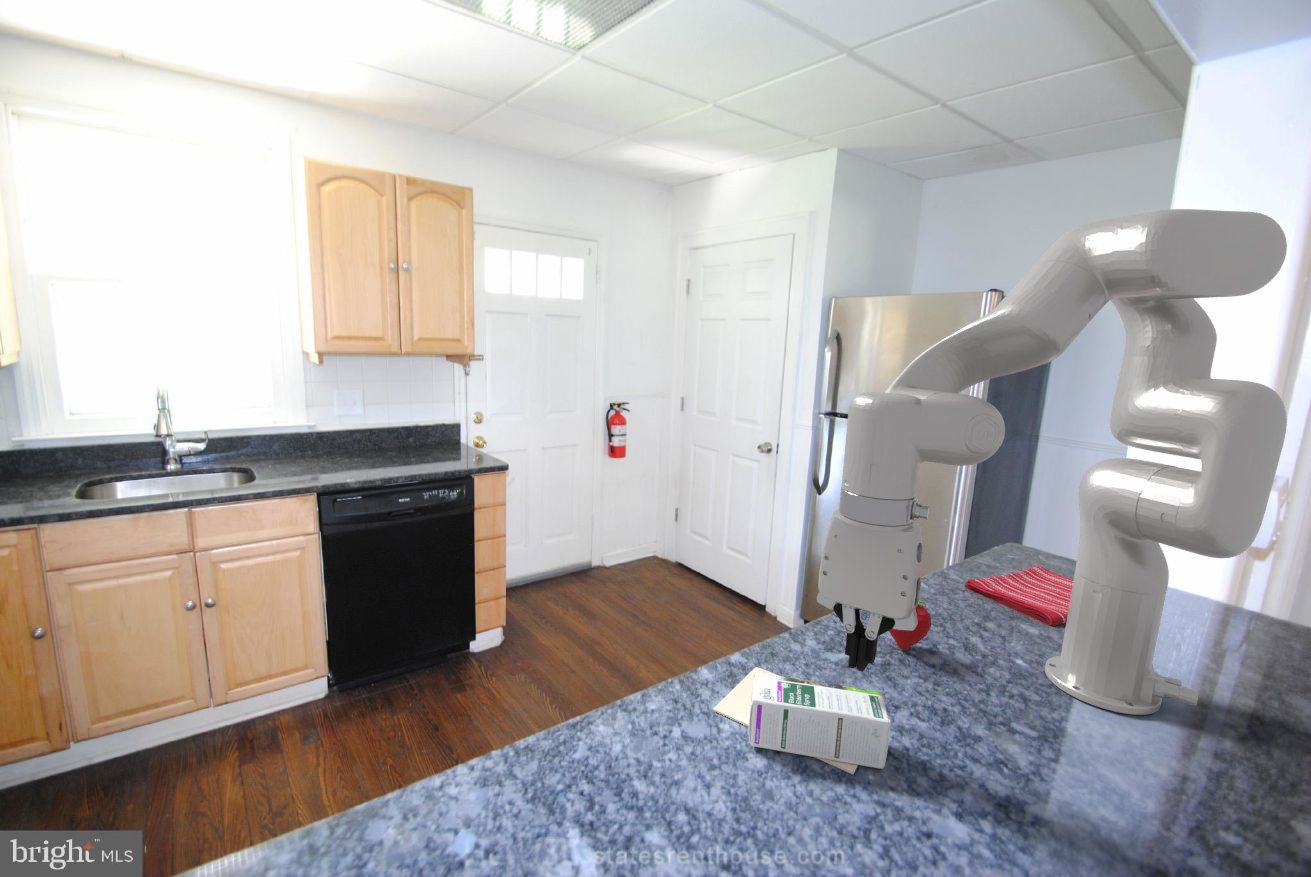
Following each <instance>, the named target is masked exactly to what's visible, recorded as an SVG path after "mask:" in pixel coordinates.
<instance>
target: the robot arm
mask: <svg viewBox="0 0 1311 877" xmlns="http://www.w3.org/2000/svg"><path fill="white" fill-rule="evenodd" d="M1287 243H1288V242H1287V237H1286V235H1285V232H1284V230H1283V228H1282V227H1281V225H1280V224H1279V223H1278V222H1277V221H1276V220H1275V219H1273V218H1272V217H1271V216H1269V215H1267V214H1264V213H1260V212H1256V211H1255V212H1254V211H1237V210H1235V211H1233V210H1218V209H1217V210H1215V209H1195V208H1194V209H1193V208H1185V209H1184V208H1175V209H1174V208H1173V209H1160V210H1155V211H1149V212H1144V213H1139V214H1138V213H1137V214H1131V215H1127V216H1126V215H1125V216H1122V217H1114V218H1109V219H1103V220H1098V221H1093V222H1088V223H1085V224H1081V225H1079V226H1077V227H1074V228H1071V229H1070V230H1068V231H1066V232H1065V233H1063V234H1062V235H1061V236H1059V237H1058V238H1057V239H1056V240H1055V241H1054V242H1053V243H1052V244H1051V246H1050V247H1048V249H1047V250H1046V251H1045V252H1044V253H1043V254H1042V255H1041V256H1040V258H1038V260H1037V261H1036V262H1035V263H1034V264H1033V265H1032V266H1031V267H1030V269H1029V270H1028V271H1027V272H1026V273H1025V274H1024V276H1022V278H1021V279H1020V280H1019V281H1018V282H1017V283H1016V284H1015V286H1014V287H1012V289H1011V290H1009V292H1008V293H1007V294H1006V295H1005V296H1004V297H1003V298H1002V300H1001V301H1000V302H999V303H998V305H996V306H995V307H994V308H993V309H992V310H991V311H990V312H989V313H987V314H985V315H983V316H982V317H980V318H978V319H975V320H974V321H972V322H970V323H968V324H967V325H965V326H963V327H962V328H960V329H959V330H957V331H955V332H953V333H951V334H950V335H949V336H946V337H945V338H943V339H941V340H939V341H938V342H936V343H935V344H933V345H931V346H930V347H927V349H925V350H924V351H923V352H921V353H920V354H919V355H918V356H916V357H914V359H913V360H912V361H911V362H910V363H909V364H908V365H907V366H905V368H904V369H903V370H902V371H901V372H900V374H899V375H898V376H897V377H896V378H895V379H894V380H893V381H892V383H890V385H889V386H888V387H887V388H886V390H885V391H884V392H883V391H882V392H881V391H879V392H878V391H868V392H861V393H857V394H856V395H854V396H853V398H851V401H850V402H849V407H848V413H847V414H848V415H847V423H846V424H847V426H846V432H845V433H846V434H845V435H846V437H845V444H844V455H843V466H842V477H841V487H840V495H839V497H840V498H839V508H838V509H837V510H835V511H834V512H833V514H832V516H831V520H830V522H829V525H828V529H827V533H826V536H825V541H824V545H823V550H822V555H821V560H820V565H819V566H820V567H819V573H818V580H817V581H818V586H817V588H818V593H817V595H816V602H817V603H818V604H819V605H822V606H823V607H825V608H826V609H829V610H831V611H833V613H834V614H835V615H836V616H837V618H838V619H839V620H840V622H841V623H842V624H843V630H844V631H845V632H846V637H845V638H846V639H845V649H844V654H845V655H846V656H848V663H847V664H848V666H847V668H850V669H857V671H859V672H861V673H864V672H865V670H866V668H867V667H868V666H869V664H874V662H875V661H876V657H877V648H878V640H879V637H880V636H881V635H884V634H885V633H887V632H889V630H891V629H897V630H910V631H912V630H914V629H915V627H916V626H917V624H918V621H917V614H916V608H915V607H917V606H918V603H919V600H921V590H922V589H921V588H922V579H923V578H922V574H923V572H922V571H923V537H922V536H923V534H922V526H921V525H920V524H919V523H917V522H915V520H916V519H918V520H920V519H925V520H928V519H929V516H930V511H931V510H930V509H931V508H930V506H928V505H923V504H922V503H920V502H919V501H920V500H918V495H917V490H918V487H917V486H918V479H919V472H920V464H922V463H925V462H926V463H935V464H942V465H949V466H955V467H958V466H959V467H963V466H972V465H973V466H974V465H976V464H977V465H978V464H980V463H983V462H985V461H986V460H988V459H990V458H991V457H993V456H994V455H995V454H996V452H997V451H998V450H999V449H1000V447H1002V444H1003V441H1004V439H1005V434H1006V425H1005V421H1004V420H1005V419H1003V415H1002V414H1001V412H1000V411H999V410H998V409H997V407H995V406H994V405H993V404H992V403H990V402H988V401H987V400H985V399H983V398H980V397H978V396H973V395H968V394H964V393H961V392H963V391H965V390H966V389H969V388H970V387H973V386H975V385H977V384H980V383H983V382H985V381H988V380H992V379H995V378H998V377H999V378H1000V377H1004V376H1007V375H1008V376H1009V375H1012V374H1016V373H1020V372H1024V371H1027V370H1031V369H1033V368H1037V367H1039V366H1042V365H1045V364H1048V363H1049V362H1052V361H1055V360H1056V359H1058V358H1059V357H1060V356H1061V355H1063V354H1064V352H1065V351H1066V350H1067V349H1068V347H1070V345H1071V344H1072V343H1073V342H1074V340H1076V339H1077V337H1079V335H1080V334H1081V333H1082V331H1083V330H1084V329H1085V328H1086V327H1087V326H1088V325H1089V324H1090V323H1091V321H1092V320H1093V319H1094V318H1095V316H1097V314H1098V313H1099V312H1100V311H1101V310H1102V309H1103V308H1104V307H1105V306H1106V304H1107V303H1109V302H1111V303H1112V304H1113V306H1114V307H1115V308H1116V311H1117V313H1118V314H1119V316H1120V318H1121V320H1122V322H1123V323H1122V324H1123V327H1124V330H1125V344H1124V346H1125V347H1124V352H1123V358H1122V362H1121V367H1120V370H1119V374H1118V380H1117V385H1116V387H1115V388H1116V389H1115V393H1114V398H1113V402H1112V406H1111V411H1110V419H1109V420H1110V422H1109V423H1110V424H1109V426H1110V427H1109V428H1110V431H1111V435H1112V436H1113V437H1114V439H1115V440H1117V441H1118V442H1119V443H1121V444H1123V445H1126V446H1128V447H1132V448H1136V449H1140V450H1145V451H1149V452H1155V453H1161V454H1166V455H1173V456H1178V457H1184V458H1190V459H1195V460H1200V461H1201V471H1200V470H1195V469H1194V470H1193V469H1189V468H1184V467H1178V466H1175V465H1170V464H1165V463H1159V462H1154V461H1148V460H1142V459H1136V458H1130V457H1129V458H1127V457H1114V458H1107V459H1103V460H1100V461H1098V462H1096V463H1094V464H1092V465H1091V466H1090V467H1088V468H1087V470H1086V471H1085V472H1084V474H1083V476H1082V478H1081V480H1080V482H1079V487H1078V510H1079V526H1080V527H1079V530H1080V531H1079V543H1078V544H1079V545H1078V551H1077V556H1076V557H1077V558H1076V563H1075V570H1074V573H1073V574H1074V576H1073V579H1072V580H1073V586H1072V592H1071V598H1070V604H1069V610H1068V616H1067V622H1066V623H1065V628H1064V629H1065V630H1064V633H1063V634H1064V635H1063V640H1062V646H1061V647H1062V648H1061V653H1060V655H1056V656H1052V657H1049V658H1048V659H1047V660H1046V662H1045V664H1044V665H1045V666H1044V672H1045V675H1046V677H1047V678H1048V679H1049V681H1050V682H1052V683H1053V684H1054V686H1057V687H1058V688H1059V689H1060V690H1062V691H1063V692H1065V693H1066V694H1068V695H1070V696H1072V697H1074V698H1075V699H1078V700H1080V701H1082V702H1085V703H1087V704H1089V705H1092V706H1094V707H1098V708H1101V709H1104V710H1107V711H1111V712H1115V713H1119V714H1120V713H1121V714H1124V715H1135V716H1145V715H1150V714H1151V715H1152V714H1154V713H1156V712H1158V711H1159V710H1160V709H1161V705H1162V699H1163V698H1164V697H1166V698H1168V699H1173V700H1175V701H1177V702H1181V703H1184V704H1186V705H1191V706H1193V707H1196V706H1197V705H1198V699H1199V691H1198V690H1197V689H1193V688H1189V687H1186V686H1182V680H1181V679H1178V678H1174V677H1170V676H1165V675H1161V674H1159V673H1158V671H1156V670H1155V668H1154V665H1153V661H1154V655H1155V651H1156V645H1157V640H1158V635H1159V630H1160V626H1161V625H1160V624H1161V620H1162V615H1163V610H1164V605H1165V600H1166V594H1167V591H1168V586H1169V578H1170V574H1169V573H1170V571H1169V565H1168V563H1167V562H1168V561H1167V559H1166V556H1165V553H1164V551H1163V548H1162V547H1161V545H1160V544H1162V545H1165V546H1169V547H1172V548H1175V549H1179V550H1183V551H1185V552H1188V553H1192V554H1196V555H1199V556H1204V557H1209V558H1213V559H1231V558H1234V557H1237V556H1239V555H1241V554H1243V553H1244V552H1245V551H1247V550H1248V549H1249V548H1250V547H1251V546H1252V544H1253V543H1254V541H1255V539H1256V538H1257V536H1258V534H1259V532H1260V529H1261V528H1262V527H1261V526H1262V525H1263V524H1262V523H1263V521H1264V520H1263V519H1264V517H1265V513H1266V510H1267V507H1268V502H1269V499H1270V495H1271V491H1272V488H1273V484H1274V481H1275V477H1276V473H1277V470H1278V469H1277V468H1278V465H1279V462H1280V458H1281V454H1282V451H1283V448H1284V442H1285V438H1286V433H1287V426H1288V424H1287V423H1288V422H1287V421H1288V419H1287V411H1286V407H1285V406H1286V405H1285V404H1284V401H1283V399H1282V398H1281V396H1280V395H1279V393H1277V392H1276V391H1275V389H1273V388H1271V387H1269V386H1267V385H1265V384H1261V383H1258V382H1254V381H1249V380H1239V379H1238V380H1237V379H1223V378H1212V377H1211V376H1212V375H1211V374H1212V367H1213V362H1214V357H1215V353H1216V352H1215V351H1216V348H1217V347H1216V346H1217V342H1218V340H1217V339H1218V338H1217V336H1218V335H1217V330H1216V328H1215V325H1214V324H1213V322H1212V319H1211V318H1210V317H1209V315H1208V313H1207V312H1206V311H1205V309H1204V308H1203V307H1202V306H1201V305H1200V303H1199V302H1198V301H1197V300H1196V299H1205V298H1208V299H1209V298H1228V297H1230V298H1232V297H1241V296H1246V295H1249V294H1252V293H1255V292H1257V291H1259V290H1260V289H1262V288H1265V286H1267V285H1268V284H1269V283H1270V282H1271V281H1272V280H1273V279H1274V278H1275V277H1276V276H1277V275H1278V273H1279V271H1280V270H1281V268H1282V267H1283V265H1284V263H1285V261H1286V260H1285V259H1286V256H1287V248H1288V244H1287ZM862 611H863V612H867V613H870V615H869V619H868V621H867V625H866V627H865V625H864V624H863V622H862V619H863V618H862Z"/></svg>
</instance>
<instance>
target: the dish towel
mask: <svg viewBox="0 0 1311 877" xmlns="http://www.w3.org/2000/svg"><path fill="white" fill-rule="evenodd" d="M1073 580H1074V579H1071V578H1068V577H1065V576H1062V575H1060V574H1057V573H1055V572H1053V571H1051V570H1049V569H1047V568H1045V567H1043V566H1041V565H1035V566H1032V567H1030V568H1029V569H1025V570H1023V571H1022V570H1021V571H1016V572H1013V573H1008V574H1007V573H1006V574H1001V575H997V576H991V577H987V578H979V579H968V580H967V581H965V584H964V587H965V589H966V590H969V591H970V592H973V593H975V594H978V595H980V596H982V597H985V598H987V599H989V600H991V601H993V602H996V603H998V604H1000V605H1002V606H1005V607H1007V608H1009V609H1011V610H1014V611H1016V612H1018V613H1020V614H1023V615H1025V616H1027V617H1029V618H1031V619H1034V620H1035V621H1038V622H1040V623H1043V624H1045V625H1047V626H1051V627H1053V626H1054V627H1055V626H1058V625H1062V624H1063V625H1064V624H1066V622H1067V616H1068V610H1069V604H1070V598H1071V592H1072V586H1073Z"/></svg>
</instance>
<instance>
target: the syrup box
mask: <svg viewBox="0 0 1311 877" xmlns="http://www.w3.org/2000/svg"><path fill="white" fill-rule="evenodd" d="M891 722H892V721H891V719H890V718H889V715H888V711H887V708H886V704H885V701H884V696H883V693H882V692H881V691H879V690H874V689H873V690H872V689H868V688H867V689H865V688H860V687H854V686H848V685H847V686H846V685H840V684H839V685H838V684H832V683H826V682H821V681H813V680H807V679H801V678H800V679H799V678H794V677H787V676H781V675H779V676H775V675H768V674H762V673H755V676H754V681H753V688H752V698H751V707H750V717H749V727H748V737H749V738H748V739H749V745H750V746H751V747H755V748H756V747H757V748H761V749H762V748H763V749H766V750H773V751H777V752H778V751H779V752H783V753H790V754H795V755H801V756H808V757H812V758H815V757H817V758H823V759H828V760H834V761H840V762H845V763H851V764H856V765H858V766H862V767H863V766H864V767H867V768H874V769H881V770H883V769H884V768H885V766H886V761H887V756H888V752H889V751H888V750H889V742H890V734H891V726H892V723H891ZM817 758H816V759H817Z"/></svg>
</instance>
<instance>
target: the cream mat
mask: <svg viewBox="0 0 1311 877" xmlns="http://www.w3.org/2000/svg"><path fill="white" fill-rule="evenodd" d="M755 673H762V674H768V675H775V676H780V675H779V674H776V673H774V672H771V671H769V670H765V669H763V668H761V667H757V666H755V667H754V668H753V669H752V670H751V671H750V672H749V673H748V674H747V675H746V676H745V677H744V678H743V679H742V680H741V681H740V682H739V683H737V684H736V685H735V686H734V688H733V689H731V690H730V691H729V693H727V694H726V695H725V696H724V698H722V699H721V700H720V701H719V702H718V703H717V704H716V705H715V706H714V707H713V708H712V712H714V713H716V712H718V713H719V715H720V714H722V715H723V717H725V716H726V717H725V718H727V717H728V718H727V719H729V718H730V719H729V720H731V719H732V720H731V721H733V720H734V722H736V721H737V722H736V723H738V722H739V724H740V723H741V725H742V724H743V726H744V725H745V726H744V727H747V728H749V717H750V707H751V698H752V688H753V681H754V676H755ZM718 713H717V714H718ZM722 715H721V716H722ZM814 758H815V759H818V760H819V761H822V762H824V763H827V764H828V765H831V766H833V767H835V768H838V769H840V770H842V771H844V772H846V773H849V774H850V775H854V774H855V772H856V770H857V769H858V766H859V765H856V764H851V763H845V762H840V761H834V760H828V759H823V758H817V757H814Z"/></svg>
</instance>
